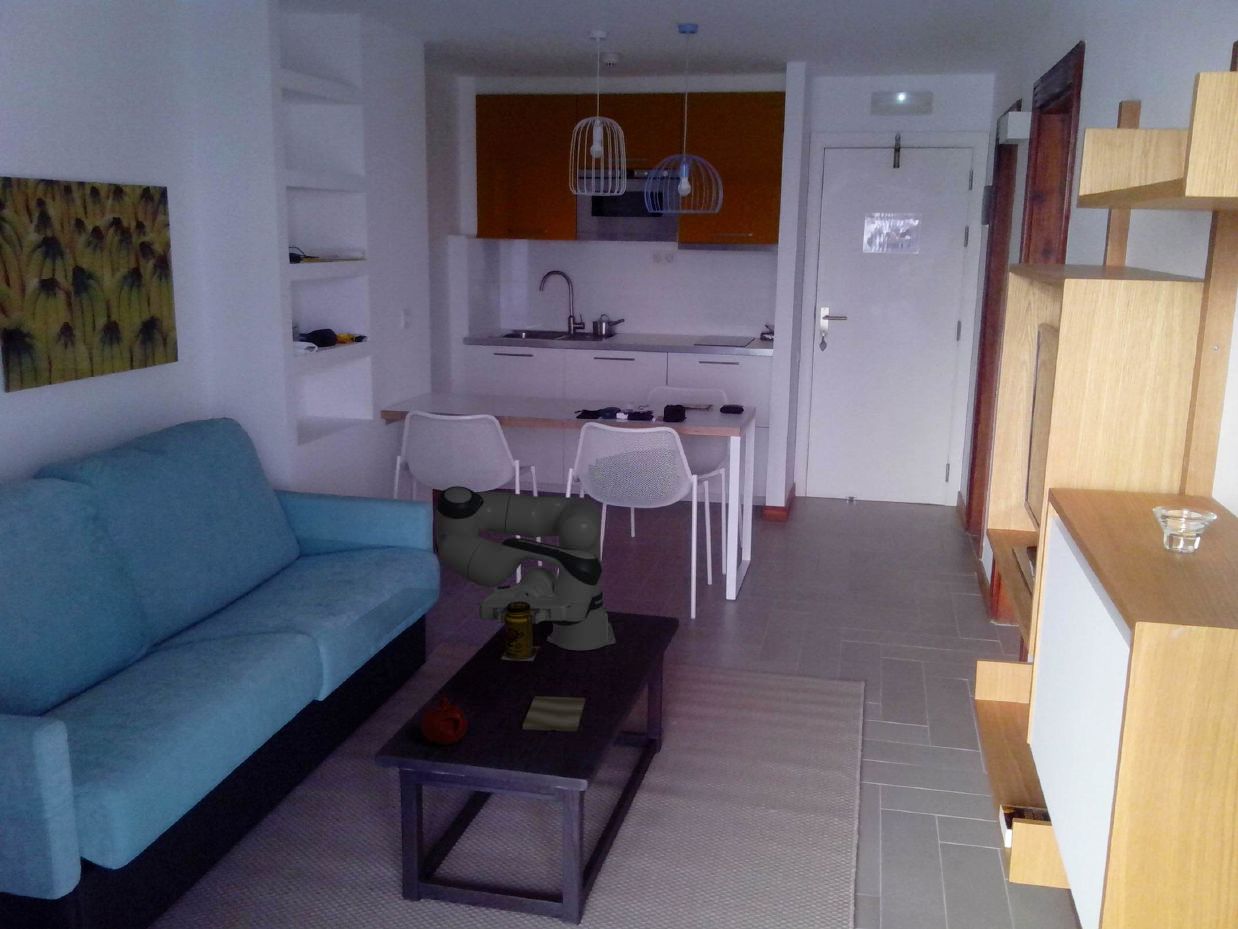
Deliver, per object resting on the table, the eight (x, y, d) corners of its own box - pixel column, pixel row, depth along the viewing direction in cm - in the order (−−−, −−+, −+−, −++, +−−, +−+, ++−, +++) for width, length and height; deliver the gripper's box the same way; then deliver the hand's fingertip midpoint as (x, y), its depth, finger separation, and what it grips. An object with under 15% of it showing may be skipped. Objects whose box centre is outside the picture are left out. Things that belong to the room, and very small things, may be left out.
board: (534, 700, 248) (534, 696, 247) (585, 702, 247) (585, 698, 246) (522, 729, 232) (522, 725, 232) (576, 731, 231) (576, 727, 231)
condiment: (500, 660, 233) (499, 609, 230) (508, 645, 241) (508, 596, 238) (532, 662, 232) (532, 610, 229) (539, 647, 240) (539, 597, 237)
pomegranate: (412, 744, 225) (410, 704, 224) (440, 726, 234) (437, 687, 232) (451, 752, 221) (448, 711, 219) (477, 733, 230) (475, 693, 228)
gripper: (573, 614, 246) (564, 634, 232) (487, 612, 248) (474, 632, 234) (572, 588, 245) (563, 607, 231) (486, 587, 247) (473, 605, 233)
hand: (517, 620), depth 233 cm, fingers closed on condiment, 6 cm apart
